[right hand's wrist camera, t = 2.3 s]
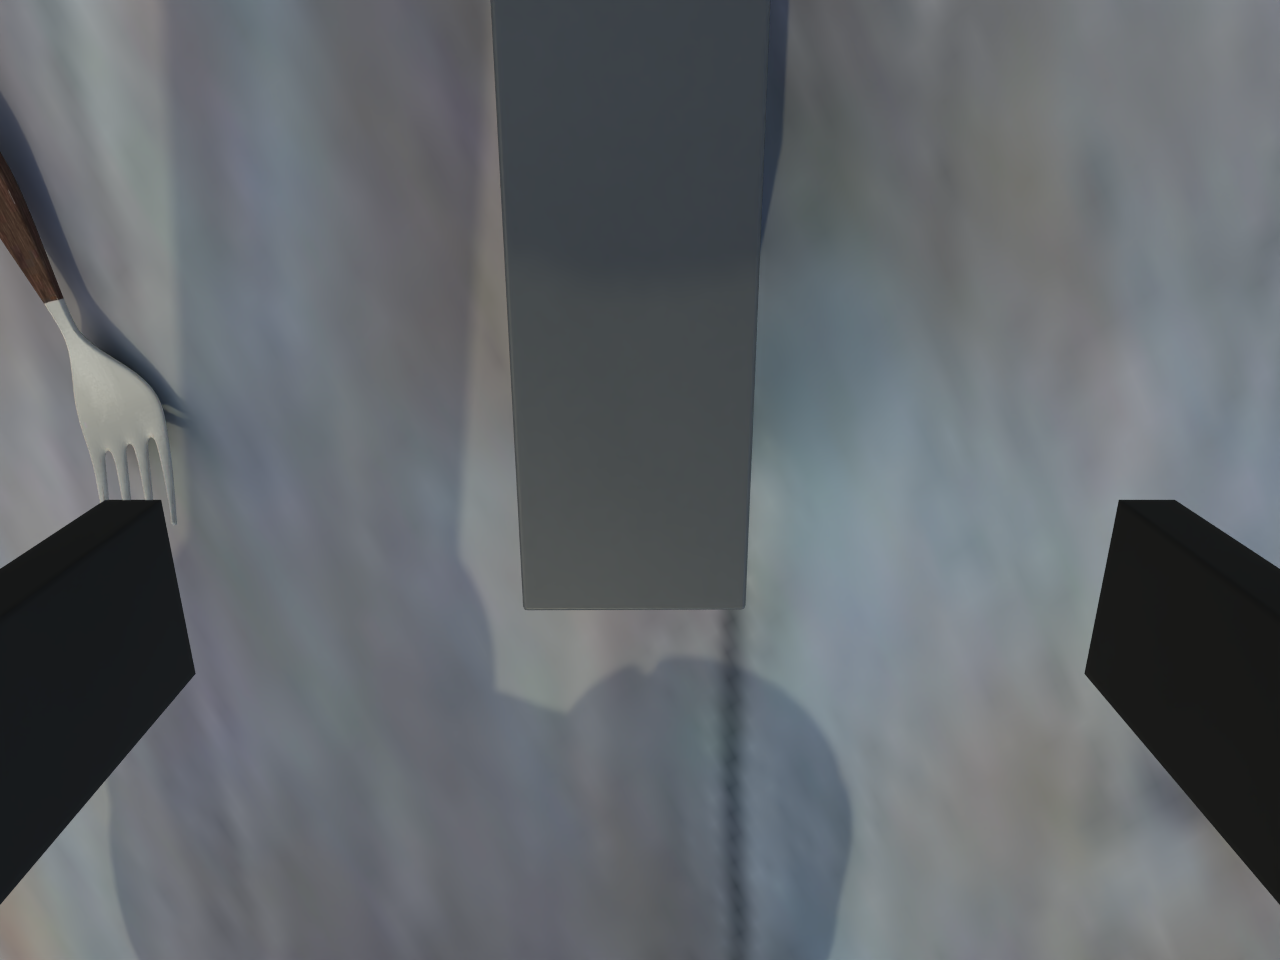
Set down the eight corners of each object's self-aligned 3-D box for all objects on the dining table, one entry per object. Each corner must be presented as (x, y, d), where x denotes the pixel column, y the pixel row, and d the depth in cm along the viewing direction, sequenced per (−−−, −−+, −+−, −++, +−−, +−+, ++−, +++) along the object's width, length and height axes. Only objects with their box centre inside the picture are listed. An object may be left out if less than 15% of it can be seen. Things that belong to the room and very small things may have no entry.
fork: (-72, -66, 23) (-135, -86, 21) (212, 499, 28) (181, 524, 26) (-161, -32, 23) (-233, -48, 21) (136, 521, 28) (100, 548, 26)
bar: (716, 482, 28) (745, 610, 20) (555, 483, 28) (522, 612, 20) (744, -570, 20) (814, -1049, 12) (515, -569, 20) (433, -1046, 12)
